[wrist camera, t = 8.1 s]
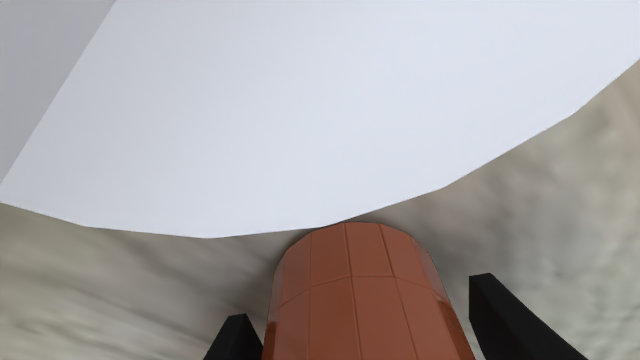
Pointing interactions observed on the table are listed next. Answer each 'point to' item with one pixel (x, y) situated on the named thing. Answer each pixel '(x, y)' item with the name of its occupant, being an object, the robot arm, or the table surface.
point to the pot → (360, 300)
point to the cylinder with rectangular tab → (281, 102)
